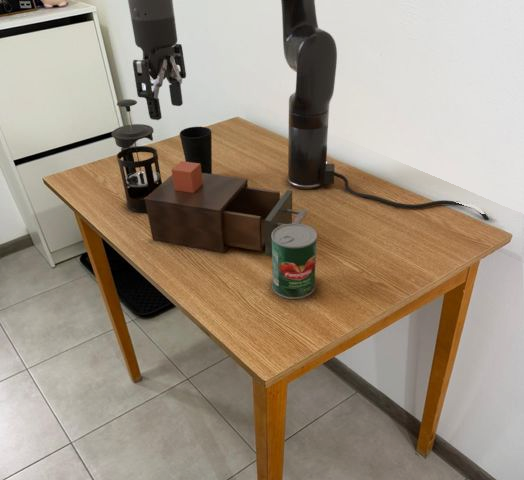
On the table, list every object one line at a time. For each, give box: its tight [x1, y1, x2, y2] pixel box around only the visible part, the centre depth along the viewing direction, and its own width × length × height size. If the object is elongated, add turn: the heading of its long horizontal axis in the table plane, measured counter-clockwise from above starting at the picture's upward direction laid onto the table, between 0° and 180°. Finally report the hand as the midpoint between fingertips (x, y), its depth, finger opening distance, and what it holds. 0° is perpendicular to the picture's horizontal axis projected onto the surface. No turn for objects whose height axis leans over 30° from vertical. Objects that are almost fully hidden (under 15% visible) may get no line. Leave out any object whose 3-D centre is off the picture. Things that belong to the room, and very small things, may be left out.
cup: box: [179, 126, 213, 174], centre depth 125 cm, size 8×8×12 cm
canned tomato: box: [271, 223, 318, 300], centre depth 90 cm, size 8×8×11 cm
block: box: [171, 160, 203, 193], centre depth 103 cm, size 4×4×4 cm
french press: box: [111, 98, 163, 214], centre depth 113 cm, size 12×9×23 cm
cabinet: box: [144, 173, 249, 254], centre depth 107 cm, size 17×15×10 cm
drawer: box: [222, 186, 308, 257], centre depth 104 cm, size 20×13×8 cm
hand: (167, 112), depth 99 cm, fingers open, 8 cm apart
